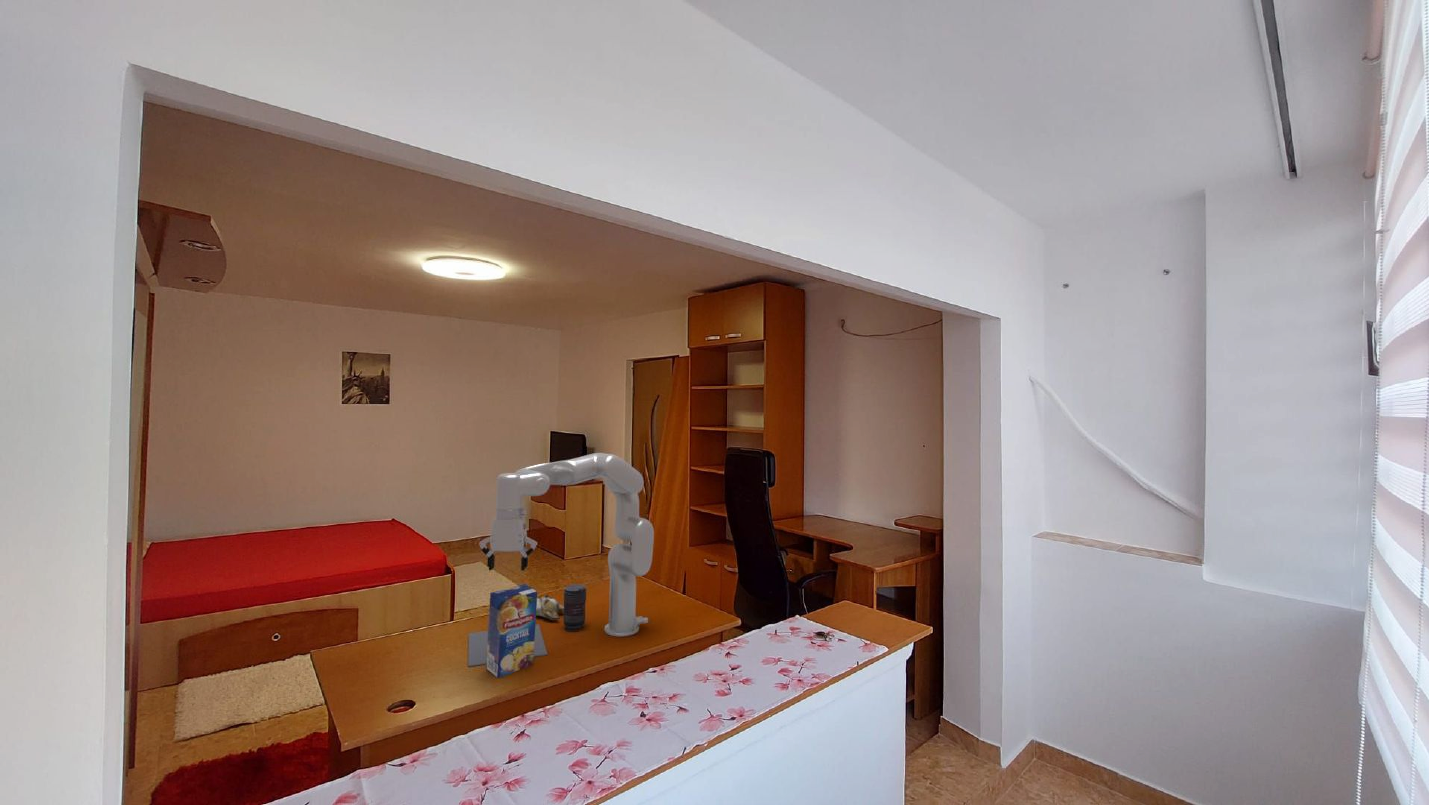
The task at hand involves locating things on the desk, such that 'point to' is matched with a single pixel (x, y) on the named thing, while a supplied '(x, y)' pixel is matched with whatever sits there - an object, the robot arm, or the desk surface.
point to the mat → (480, 641)
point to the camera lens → (574, 607)
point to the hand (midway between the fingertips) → (507, 569)
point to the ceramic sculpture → (549, 608)
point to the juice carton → (511, 630)
